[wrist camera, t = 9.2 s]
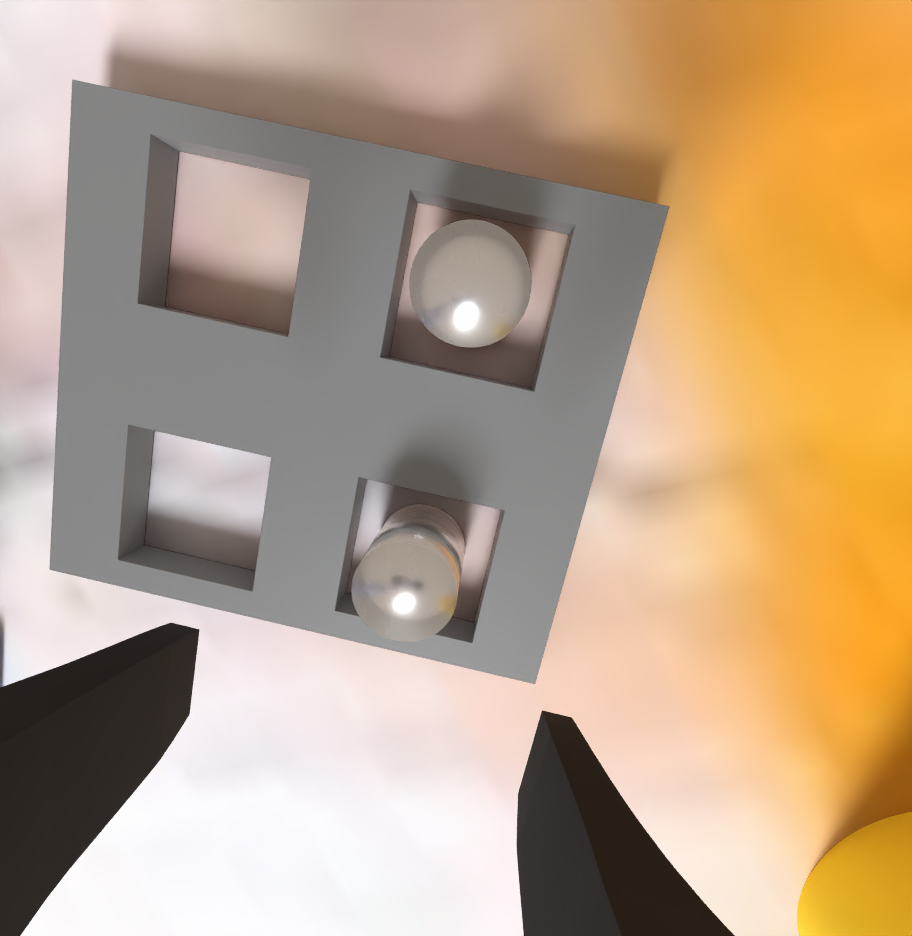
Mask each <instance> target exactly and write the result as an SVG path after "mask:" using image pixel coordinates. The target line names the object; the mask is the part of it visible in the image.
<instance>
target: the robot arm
mask: <svg viewBox="0 0 912 936" xmlns="http://www.w3.org/2000/svg"><path fill="white" fill-rule="evenodd" d="M198 637H199V629H195V628H191V627H187V626H182V625H178V624H174V623H169V624H166V625H163V626H160V627H157V628H155V629H152V630H149V631H147V632H144V633H142V634H139V635H137V636H134V637H132V638H129V639H127V640H124V641H122V642H120V643H117V644H115V645H112V646H110V647H107V648H105V649H102V650H100V651H97V652H95V653H92V654H90V655H87V656H85V657H82V658H80V659H77V660H75V661H72V662H70V663H67V664H65V665H62V666H59V667H56V668H54V669H51V670H48V671H45V672H43V673H40V674H37V675H34V676H32V677H29V678H26V679H23V680H20V681H18V682H15V683H12V684H9V685H7V686H4V687H1V688H0V936H20V935H21V934H22V932H23V931H24V930H25V928H26V927H27V925H28V924H29V922H30V921H31V920H32V918H33V917H34V915H35V914H36V913H37V911H38V910H39V908H40V907H41V905H42V904H43V903H44V901H45V900H46V898H47V897H48V896H49V895H50V893H51V892H52V891H53V889H54V888H55V887H56V886H57V884H58V883H59V882H60V880H61V879H62V878H63V877H64V875H65V874H66V873H67V871H68V870H69V869H70V868H71V867H72V865H73V864H74V863H75V862H76V861H77V859H78V858H79V857H80V856H81V855H82V853H83V852H84V851H85V850H86V849H87V847H88V846H89V845H90V844H91V843H92V841H93V840H94V839H95V838H96V837H97V835H98V834H99V833H100V832H101V831H102V829H103V828H104V827H105V826H106V825H107V823H108V822H109V821H110V820H111V819H112V818H113V816H114V815H115V814H116V813H117V812H118V810H119V809H120V808H121V807H122V806H123V804H124V803H125V802H126V801H127V800H128V798H129V797H130V796H131V795H132V794H133V792H134V791H135V790H136V789H137V787H138V786H139V785H140V784H141V783H142V781H143V780H144V779H145V778H146V777H147V775H148V774H149V773H150V772H151V770H152V769H153V768H154V767H155V765H156V764H157V763H158V762H159V760H160V759H161V757H162V756H163V755H164V753H165V752H166V750H167V749H168V747H169V746H170V744H171V743H172V741H173V740H174V738H175V736H176V735H177V733H178V732H179V730H180V729H181V727H182V725H183V724H184V722H185V721H186V719H187V717H188V716H189V713H190V705H191V696H192V688H193V679H194V671H195V662H196V654H197V645H198ZM517 858H518V871H519V883H520V895H521V907H522V919H523V930H524V936H734V935H733V934H732V932H731V931H730V930H729V929H728V928H727V927H726V926H725V925H724V924H723V923H722V922H721V921H720V920H719V919H718V918H717V916H716V915H715V914H714V913H713V912H712V911H711V910H710V909H709V908H708V907H707V905H706V904H705V903H704V902H703V901H702V900H701V899H700V897H699V896H698V895H697V894H696V893H695V891H694V890H693V889H692V888H691V887H690V886H689V884H688V883H687V882H686V881H685V880H684V879H683V877H682V876H681V875H680V874H679V873H678V872H677V870H676V869H675V868H674V867H673V865H672V864H671V863H670V862H669V860H668V859H667V858H666V857H665V855H664V854H663V853H662V852H661V850H660V849H659V848H658V846H657V845H656V844H655V842H654V841H653V840H652V838H651V837H650V836H649V834H648V833H647V832H646V830H645V829H644V828H643V826H642V825H641V824H640V822H639V821H638V819H637V818H636V817H635V815H634V814H633V812H632V811H631V809H630V808H629V807H628V805H627V804H626V802H625V801H624V799H623V798H622V796H621V795H620V793H619V792H618V790H617V789H616V787H615V786H614V784H613V783H612V781H611V780H610V778H609V777H608V775H607V774H606V772H605V770H604V769H603V767H602V766H601V764H600V762H599V761H598V759H597V758H596V756H595V754H594V753H593V751H592V750H591V748H590V746H589V745H588V743H587V741H586V740H585V738H584V737H583V735H582V733H581V732H580V730H579V728H578V727H577V725H576V724H575V722H574V720H573V719H572V718H571V717H567V716H563V715H559V714H554V713H550V712H546V711H542V713H541V716H540V720H539V723H538V727H537V730H536V734H535V737H534V741H533V744H532V747H531V751H530V754H529V758H528V761H527V765H526V768H525V772H524V775H523V779H522V782H521V786H520V789H519V793H518V814H517Z"/></svg>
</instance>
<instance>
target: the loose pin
mask: <svg viewBox="0 0 912 936" xmlns="http://www.w3.org/2000/svg"><path fill="white" fill-rule="evenodd" d="M464 552H465V542H464V537H463V533H462V531H461V529H460V527H459V525H458V524H457V522H456V521H455V520H454V519H453V518H452V517H451V516H450V515H449V514H448V513H446V512H445V511H443V510H441V509H439V508H437V507H434V506H431V505H424V504H417V505H410V506H407V507H404V508H402V509H400V510H398V511H396V512H395V513H394V514H392V515H391V516H390V517H389V518H388V520H387V521H386V522H385V524H384V525H383V527H382V529H381V530H380V532H379V533H378V535H377V537H376V538H375V540H374V541H373V543H372V544H371V546H370V548H369V549H368V551H367V552H366V554H365V556H364V557H363V559H362V560H361V562H360V564H359V565H358V567H357V569H356V571H355V573H354V576H353V579H352V586H351V594H352V600H353V604H354V607H355V609H356V611H357V613H358V615H359V616H360V618H361V619H362V621H363V622H364V623H365V624H366V625H367V626H368V627H369V628H370V629H372V630H373V631H374V632H376V633H377V634H379V635H381V636H383V637H385V638H388V639H391V640H395V641H400V642H414V641H419V640H423V639H426V638H429V637H431V636H433V635H435V634H436V633H438V632H439V631H440V630H441V629H443V628H444V627H445V625H446V624H447V623H448V622H449V620H450V619H451V617H452V615H453V613H454V611H455V607H456V603H457V597H458V590H459V584H460V578H461V571H462V565H463V558H464Z"/></svg>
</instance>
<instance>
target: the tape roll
mask: <svg viewBox="0 0 912 936" xmlns="http://www.w3.org/2000/svg"><path fill="white" fill-rule="evenodd" d="M797 925H798V932H799V936H912V812H908V813H903V814H899V815H895V816H891V817H888V818H885V819H882V820H879V821H876V822H874V823H872V824H869V825H867V826H865V827H863V828H861V829H859V830H857V831H856V832H854V833H852V834H850V835H849V836H847V837H846V838H844V839H843V840H842V841H840V842H839V843H838V844H836V845H835V846H834V847H833V848H832V849H831V850H829V851H828V852H827V853H826V854H825V855H824V856H823V857H822V859H821V860H820V861H819V862H818V863H817V865H816V866H815V867H814V869H813V870H812V872H811V873H810V875H809V877H808V878H807V880H806V882H805V884H804V887H803V889H802V892H801V895H800V899H799V903H798V910H797Z"/></svg>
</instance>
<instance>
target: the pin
mask: <svg viewBox="0 0 912 936" xmlns="http://www.w3.org/2000/svg"><path fill="white" fill-rule="evenodd" d="M530 293H531V271H530V267H529V263H528V260H527V257H526V255H525V253H524V251H523V249H522V248H521V246H520V245H519V243H518V242H517V241H516V240H515V239H514V237H513V236H512V235H510V234H509V233H508V232H507V231H506V230H504V229H502V228H501V227H499V226H497V225H495V224H493V223H490V222H487V221H483V220H476V219H467V220H460V221H456V222H453V223H450V224H448V225H445V226H443V227H442V228H440V229H438V230H437V231H436V232H434V233H433V234H432V235H431V236H430V237H429V238H428V239H427V240H426V241H425V242H424V243H423V245H422V246H421V247H420V249H419V251H418V253H417V254H416V256H415V259H414V262H413V264H412V268H411V273H410V296H411V300H412V304H413V307H414V309H415V312H416V314H417V316H418V317H419V319H420V321H421V322H422V323H423V325H424V326H425V327H426V328H427V329H428V330H429V331H430V332H431V333H432V334H433V335H434V336H436V337H437V338H439V339H441V340H442V341H444V342H447V343H449V344H452V345H455V346H460V347H483V346H488V345H491V344H493V343H496V342H498V341H499V340H501V339H503V338H504V337H505V336H507V335H508V334H509V333H510V332H511V331H512V329H513V328H514V327H515V326H516V325H517V323H518V322H519V321H520V319H521V318H522V316H523V314H524V312H525V310H526V308H527V305H528V302H529V299H530Z"/></svg>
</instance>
